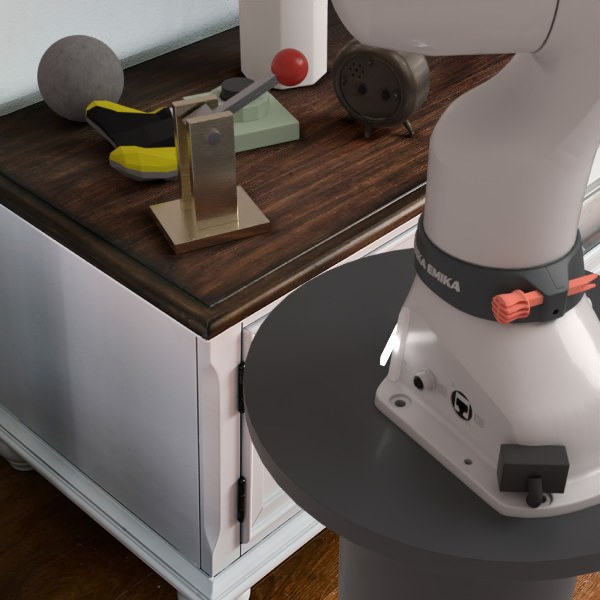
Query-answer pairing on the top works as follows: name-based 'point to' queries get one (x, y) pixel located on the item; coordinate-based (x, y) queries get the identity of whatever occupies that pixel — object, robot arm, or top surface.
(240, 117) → the button box
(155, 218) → the switch bracket
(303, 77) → the switch lever
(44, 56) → the decorative ball
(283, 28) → the cup
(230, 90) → the button
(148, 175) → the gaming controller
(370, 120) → the alarm clock
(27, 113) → the top surface
